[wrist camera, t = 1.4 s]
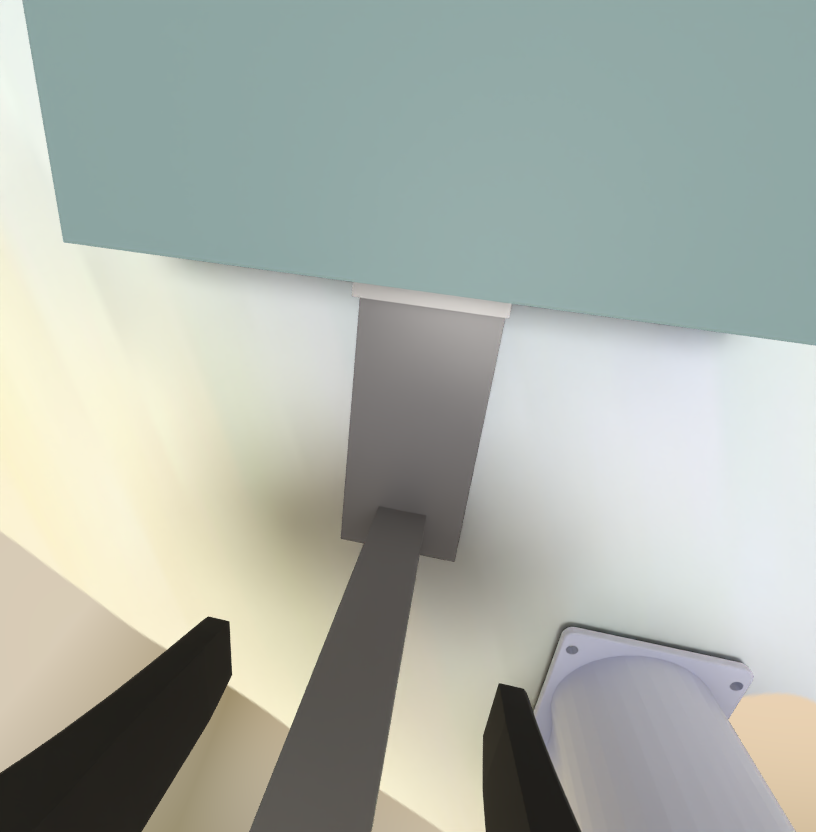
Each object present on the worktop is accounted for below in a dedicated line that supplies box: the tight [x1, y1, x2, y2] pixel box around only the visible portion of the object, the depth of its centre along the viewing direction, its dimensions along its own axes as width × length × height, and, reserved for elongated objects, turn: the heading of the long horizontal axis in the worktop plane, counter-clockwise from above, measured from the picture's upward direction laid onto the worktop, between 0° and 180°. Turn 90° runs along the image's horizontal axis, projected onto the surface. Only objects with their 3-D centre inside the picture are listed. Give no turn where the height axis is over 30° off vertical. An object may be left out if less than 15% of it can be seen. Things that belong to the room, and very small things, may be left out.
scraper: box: [249, 282, 512, 832], centre depth 10 cm, size 11×5×12 cm, turn 173°
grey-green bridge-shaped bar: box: [22, 0, 816, 345], centre depth 10 cm, size 7×20×4 cm, turn 83°
